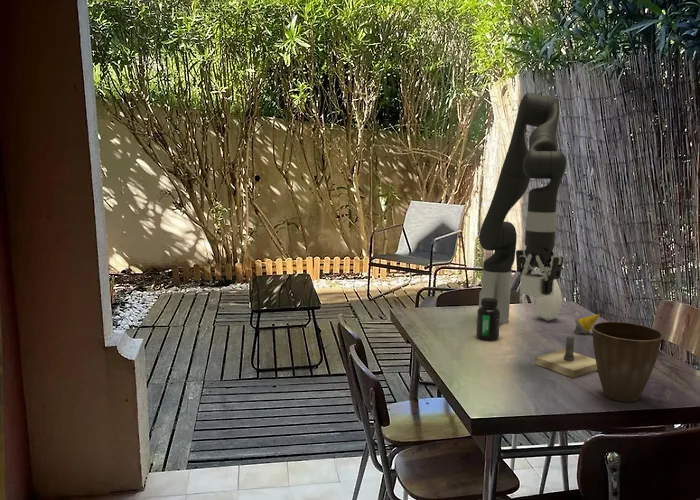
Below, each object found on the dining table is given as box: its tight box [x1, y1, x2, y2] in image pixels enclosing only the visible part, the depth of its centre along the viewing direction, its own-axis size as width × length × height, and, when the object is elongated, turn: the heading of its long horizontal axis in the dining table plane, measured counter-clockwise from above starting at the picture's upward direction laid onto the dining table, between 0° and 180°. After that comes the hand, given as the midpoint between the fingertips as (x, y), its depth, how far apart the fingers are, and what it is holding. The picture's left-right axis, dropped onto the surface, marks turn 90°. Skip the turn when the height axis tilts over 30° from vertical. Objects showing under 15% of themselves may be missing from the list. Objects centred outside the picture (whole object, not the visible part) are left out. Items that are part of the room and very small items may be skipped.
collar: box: [519, 271, 554, 299], centre depth 161 cm, size 6×6×5 cm
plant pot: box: [591, 321, 664, 403], centre depth 142 cm, size 15×15×16 cm
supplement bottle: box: [475, 298, 501, 342], centre depth 185 cm, size 7×7×12 cm
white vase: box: [535, 279, 562, 321], centre depth 204 cm, size 8×8×18 cm
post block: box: [534, 336, 598, 379], centre depth 162 cm, size 12×12×8 cm
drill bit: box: [573, 313, 601, 335], centre depth 191 cm, size 5×5×10 cm
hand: (536, 291), depth 161 cm, fingers closed on collar, 6 cm apart
